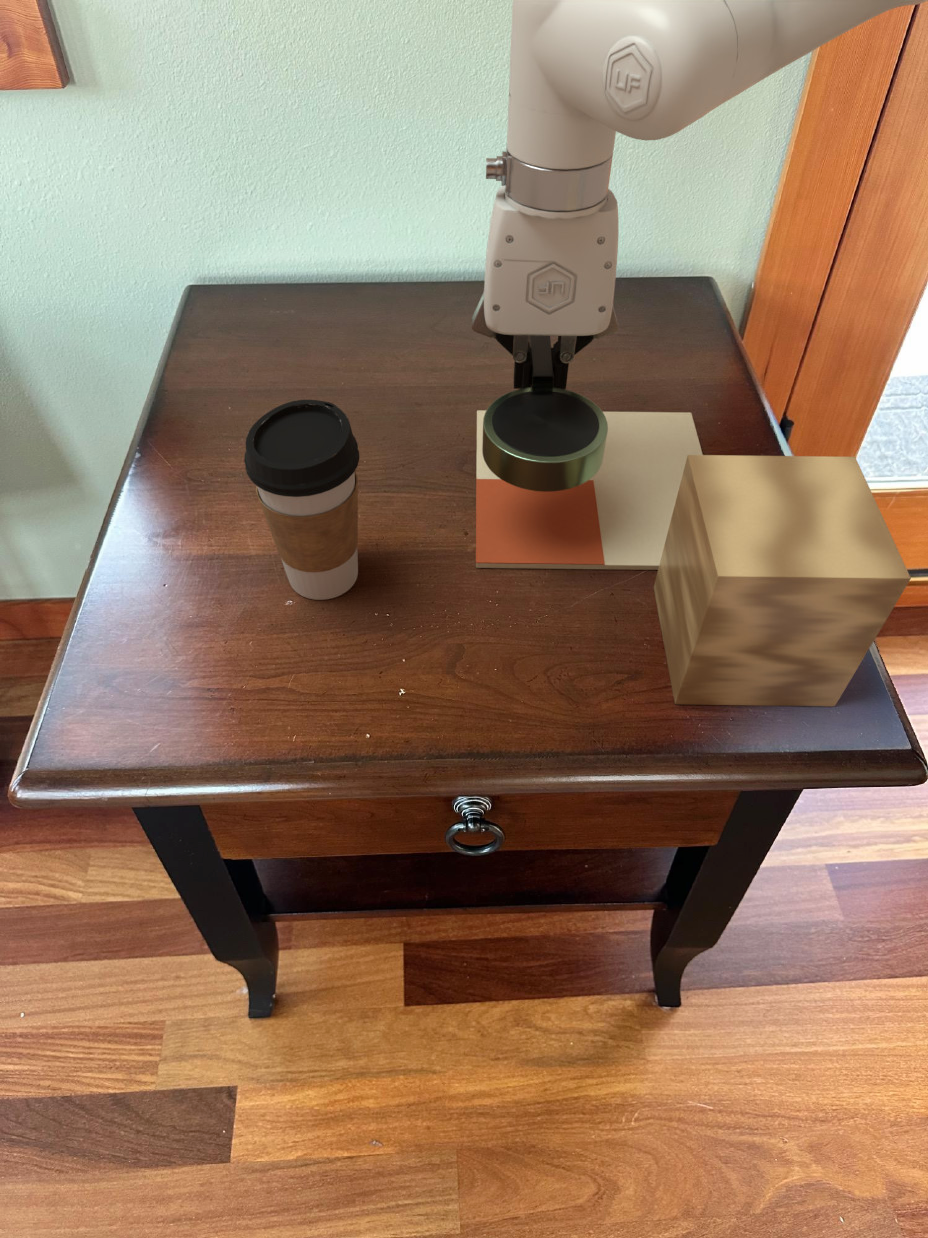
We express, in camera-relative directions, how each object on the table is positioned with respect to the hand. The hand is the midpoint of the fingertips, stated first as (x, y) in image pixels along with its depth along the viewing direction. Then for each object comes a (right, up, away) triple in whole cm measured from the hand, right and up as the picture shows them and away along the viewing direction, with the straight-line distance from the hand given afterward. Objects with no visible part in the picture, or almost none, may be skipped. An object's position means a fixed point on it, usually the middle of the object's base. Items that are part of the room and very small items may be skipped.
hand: (538, 392), depth 74 cm
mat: (+6, -8, +5) cm, 10 cm away
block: (+15, -22, -8) cm, 28 cm away
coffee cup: (-19, -16, -3) cm, 25 cm away
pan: (0, -3, -2) cm, 4 cm away
